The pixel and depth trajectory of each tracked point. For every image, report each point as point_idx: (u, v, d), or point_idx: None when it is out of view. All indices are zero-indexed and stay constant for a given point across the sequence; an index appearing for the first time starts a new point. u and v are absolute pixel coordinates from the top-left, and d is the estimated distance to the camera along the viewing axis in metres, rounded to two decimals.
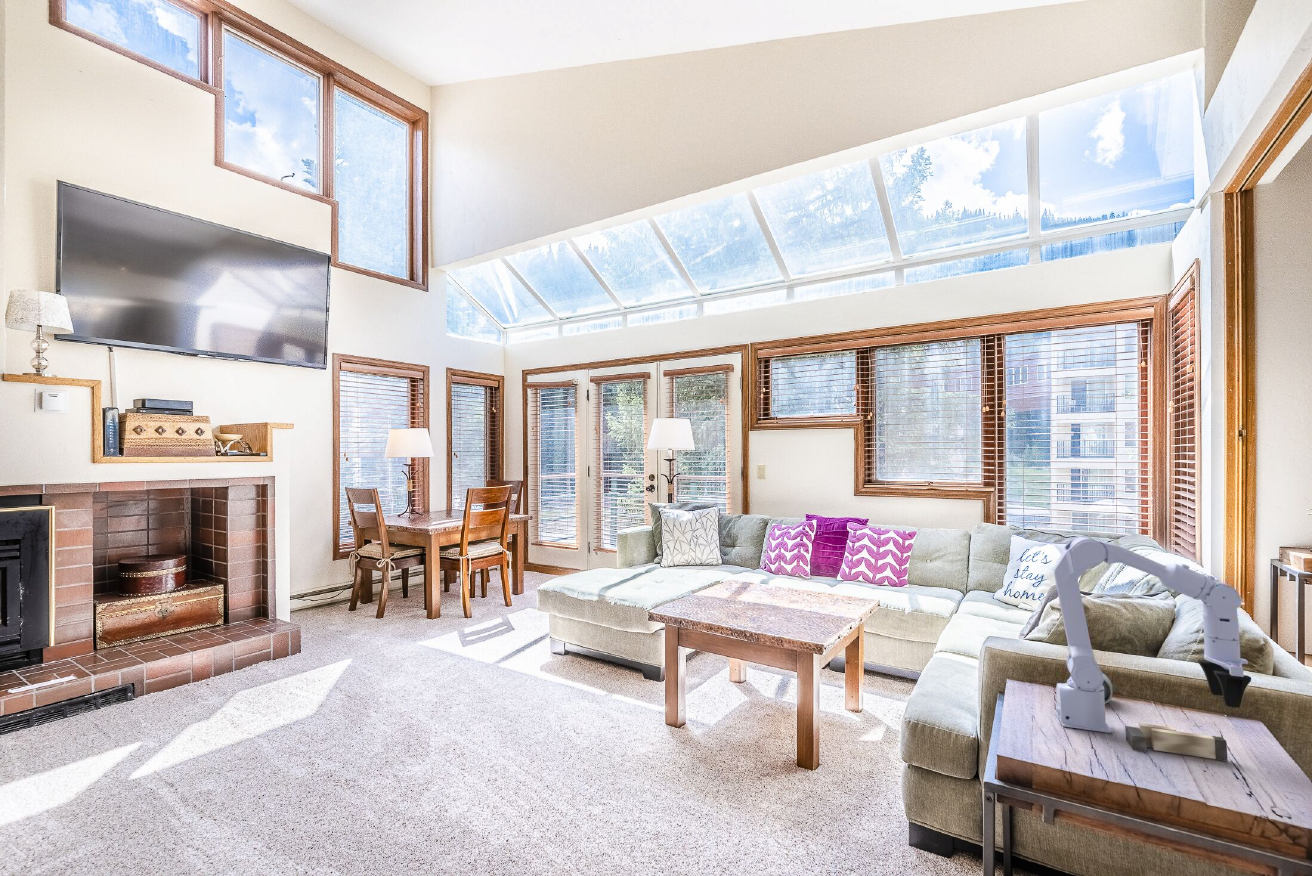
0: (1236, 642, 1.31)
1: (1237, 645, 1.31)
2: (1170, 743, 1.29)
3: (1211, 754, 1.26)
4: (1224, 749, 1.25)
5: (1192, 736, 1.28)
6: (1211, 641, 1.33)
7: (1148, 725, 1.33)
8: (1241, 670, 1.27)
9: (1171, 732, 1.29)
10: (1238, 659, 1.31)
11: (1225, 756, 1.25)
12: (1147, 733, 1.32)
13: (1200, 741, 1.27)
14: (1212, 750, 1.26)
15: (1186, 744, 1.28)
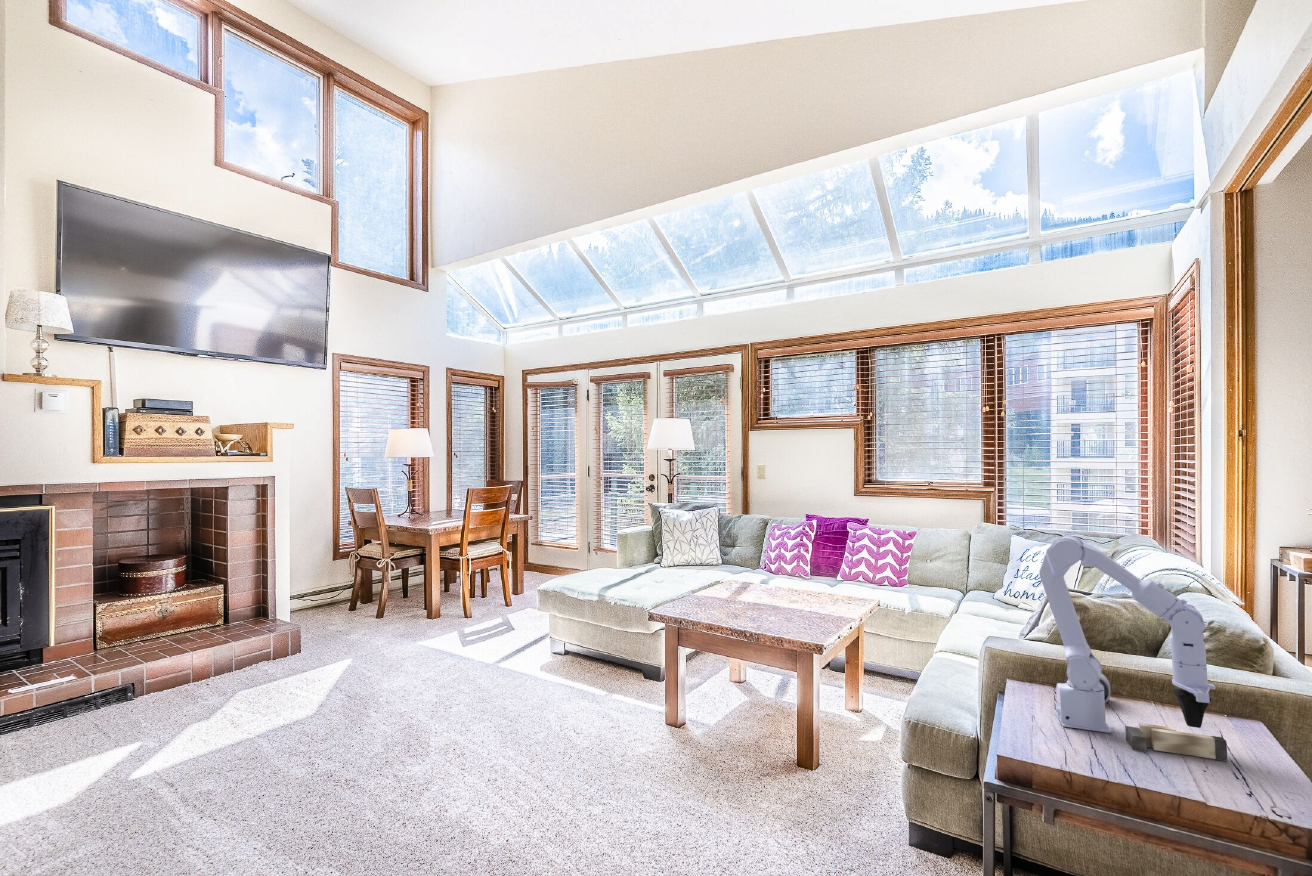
0: (1203, 667, 1.31)
1: (1204, 670, 1.31)
2: (1170, 743, 1.29)
3: (1211, 754, 1.26)
4: (1224, 749, 1.25)
5: (1192, 736, 1.28)
6: (1178, 666, 1.33)
7: (1148, 725, 1.33)
8: (1207, 697, 1.26)
9: (1171, 732, 1.29)
10: (1205, 684, 1.30)
11: (1225, 756, 1.25)
12: (1147, 733, 1.32)
13: (1200, 741, 1.27)
14: (1212, 750, 1.26)
15: (1186, 744, 1.28)
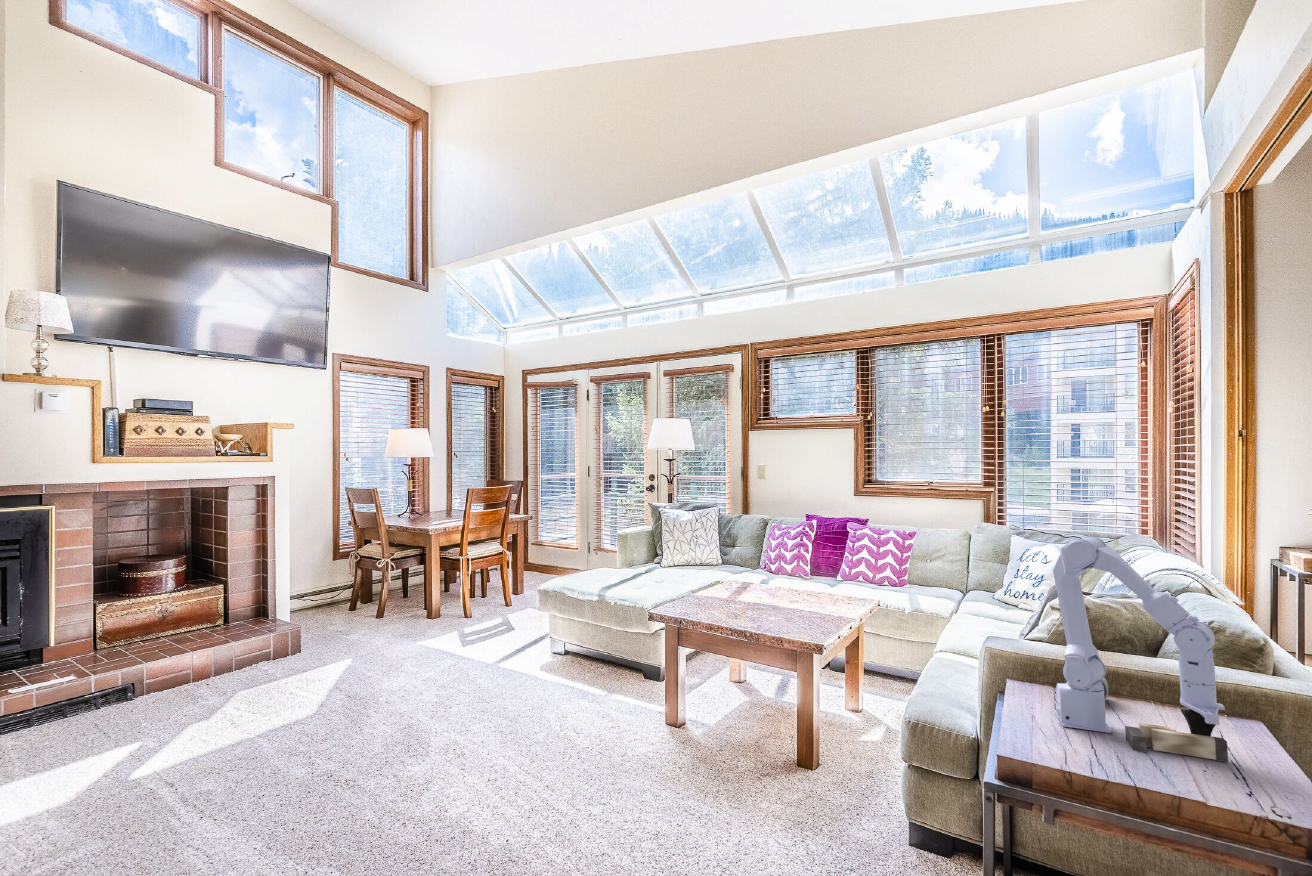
0: (1212, 687, 1.26)
1: (1213, 690, 1.26)
2: (1170, 743, 1.29)
3: (1211, 755, 1.26)
4: (1225, 750, 1.25)
5: (1192, 736, 1.27)
6: (1187, 685, 1.29)
7: (1148, 725, 1.33)
8: (1216, 718, 1.22)
9: (1171, 732, 1.29)
10: (1214, 705, 1.26)
11: (1226, 757, 1.25)
12: (1147, 733, 1.32)
13: (1200, 742, 1.27)
14: (1212, 751, 1.26)
15: (1186, 745, 1.28)
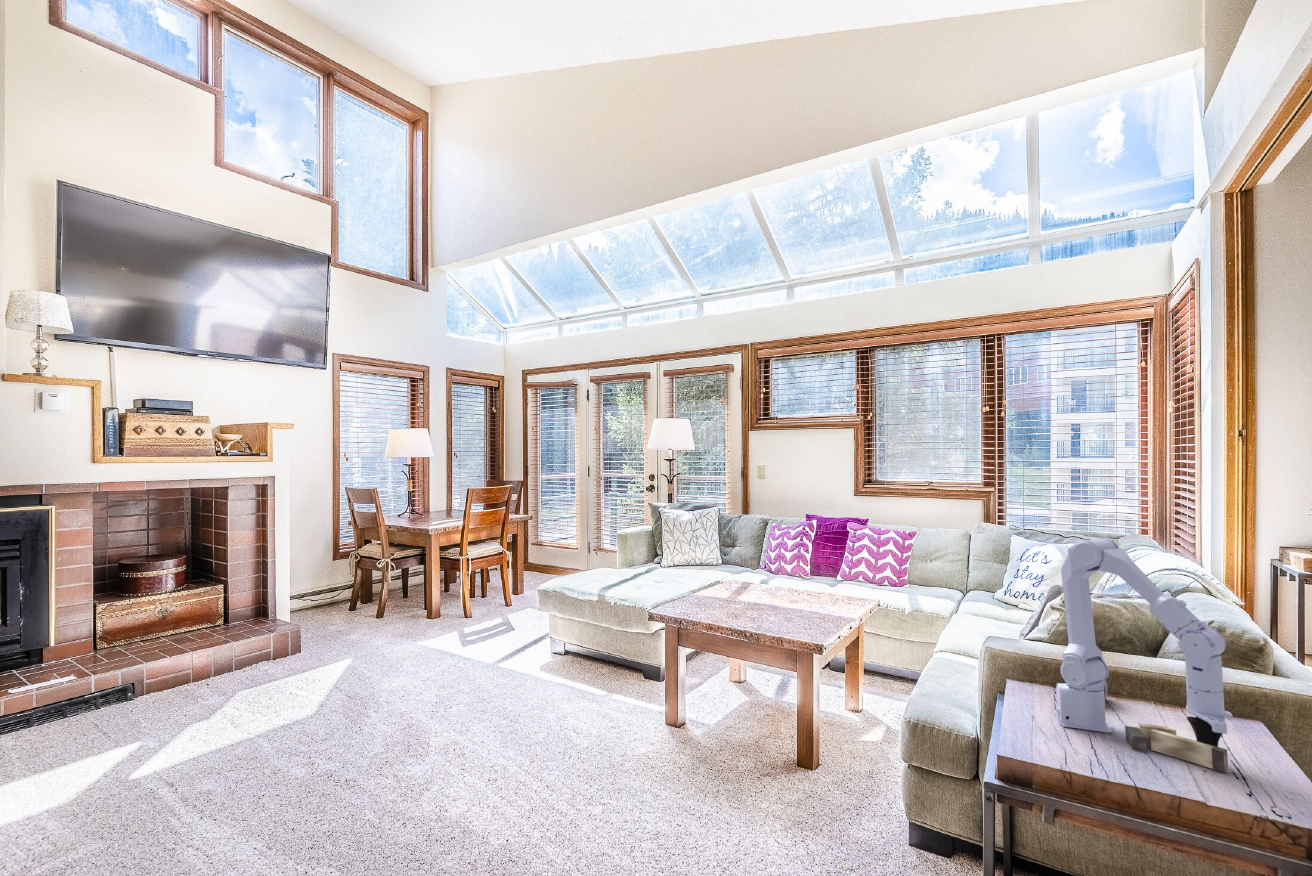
0: (1220, 694, 1.23)
1: (1221, 698, 1.23)
2: (1166, 745, 1.28)
3: (1208, 763, 1.22)
4: (1221, 760, 1.20)
5: (1189, 742, 1.25)
6: (1193, 692, 1.25)
7: (1148, 725, 1.33)
8: (1224, 727, 1.18)
9: (1170, 735, 1.28)
10: (1222, 713, 1.22)
11: (1222, 767, 1.20)
12: (1147, 733, 1.32)
13: (1197, 748, 1.24)
14: (1209, 759, 1.22)
15: (1183, 749, 1.26)
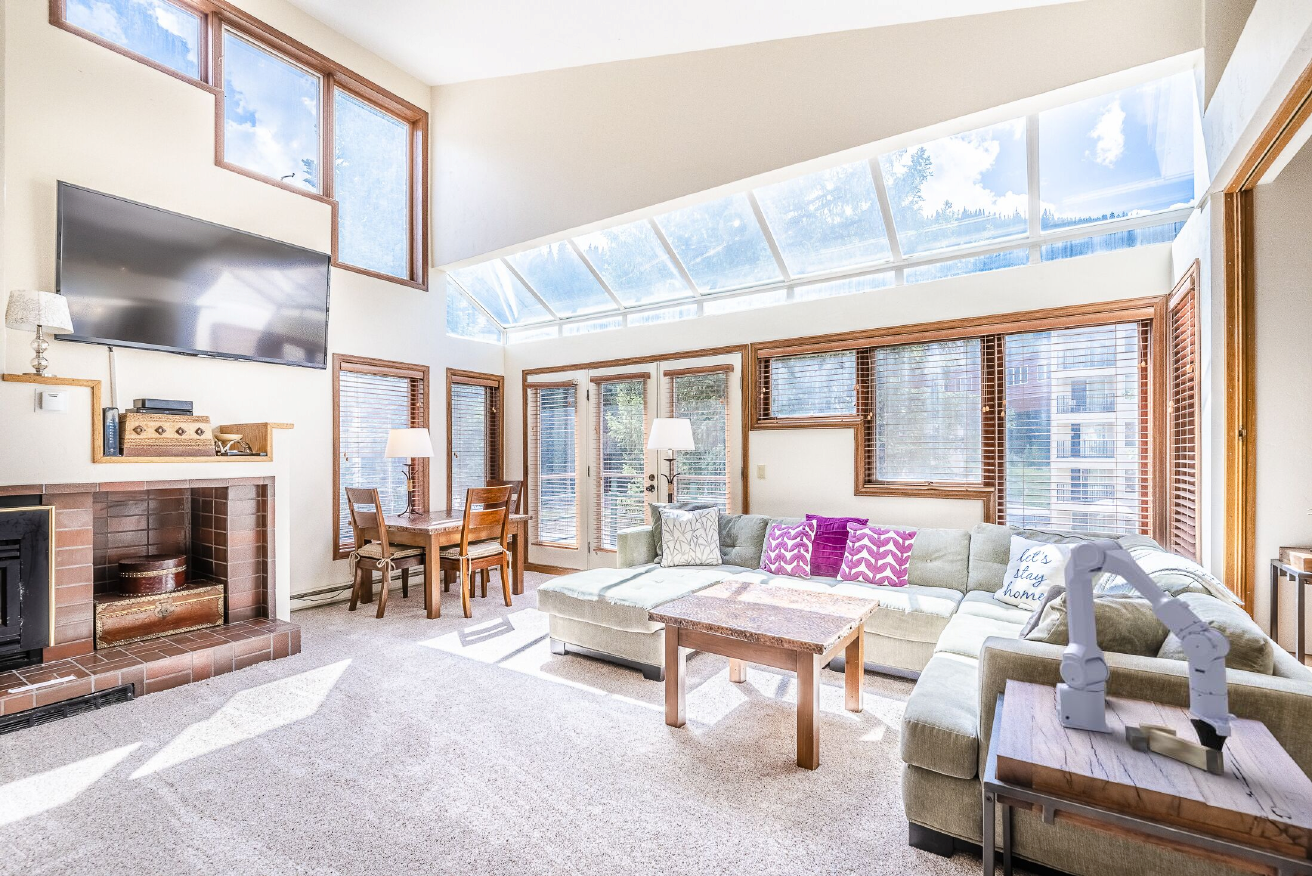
0: (1224, 697, 1.21)
1: (1225, 700, 1.21)
2: (1164, 745, 1.28)
3: (1203, 765, 1.22)
4: (1214, 762, 1.20)
5: (1185, 743, 1.24)
6: (1197, 695, 1.23)
7: (1148, 725, 1.33)
8: (1228, 730, 1.17)
9: (1168, 735, 1.28)
10: (1226, 715, 1.21)
11: (1215, 769, 1.19)
12: (1147, 733, 1.32)
13: (1192, 749, 1.23)
14: (1204, 761, 1.21)
15: (1179, 750, 1.25)
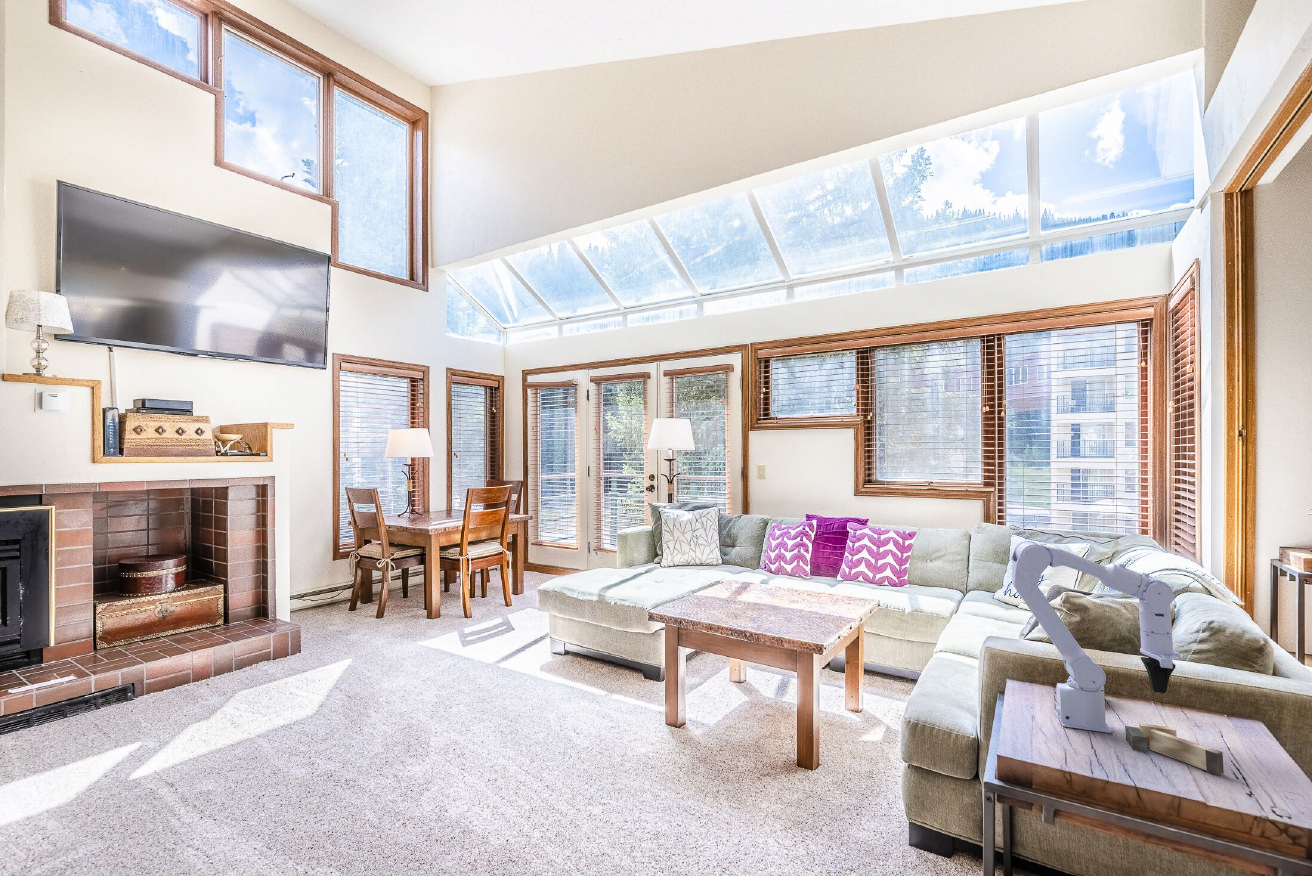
0: (1168, 636, 1.38)
1: (1169, 639, 1.38)
2: (1164, 745, 1.28)
3: (1202, 765, 1.21)
4: (1214, 762, 1.20)
5: (1185, 743, 1.24)
6: (1145, 635, 1.40)
7: (1148, 725, 1.33)
8: (1170, 662, 1.33)
9: (1168, 735, 1.28)
10: (1170, 652, 1.38)
11: (1215, 769, 1.19)
12: (1147, 733, 1.32)
13: (1192, 749, 1.23)
14: (1203, 761, 1.21)
15: (1179, 750, 1.25)
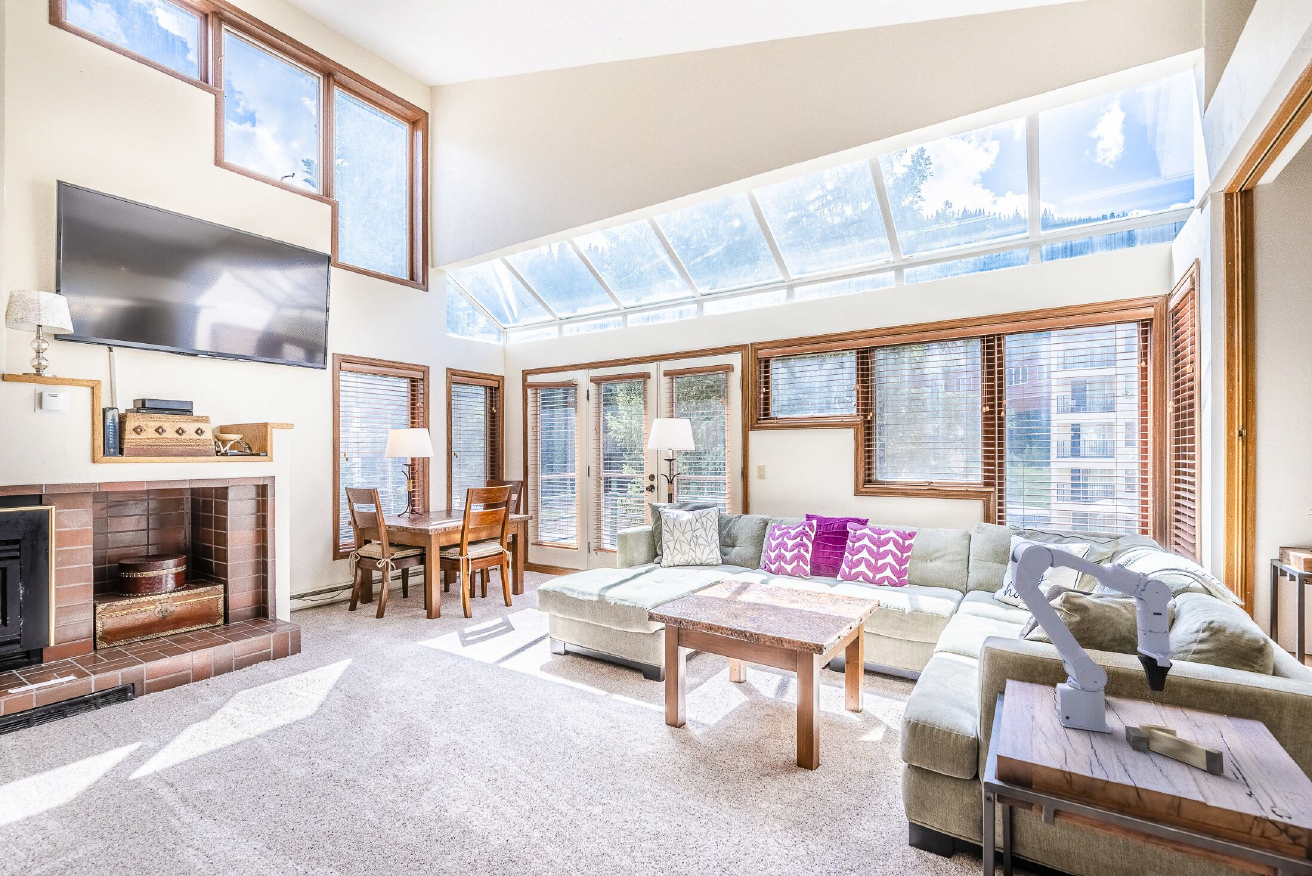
0: (1165, 634, 1.39)
1: (1166, 637, 1.39)
2: (1164, 745, 1.28)
3: (1202, 765, 1.21)
4: (1214, 762, 1.20)
5: (1185, 743, 1.24)
6: (1143, 634, 1.41)
7: (1148, 725, 1.33)
8: (1168, 661, 1.34)
9: (1168, 735, 1.28)
10: (1167, 650, 1.39)
11: (1215, 769, 1.19)
12: (1147, 733, 1.32)
13: (1192, 749, 1.23)
14: (1203, 761, 1.21)
15: (1179, 750, 1.25)
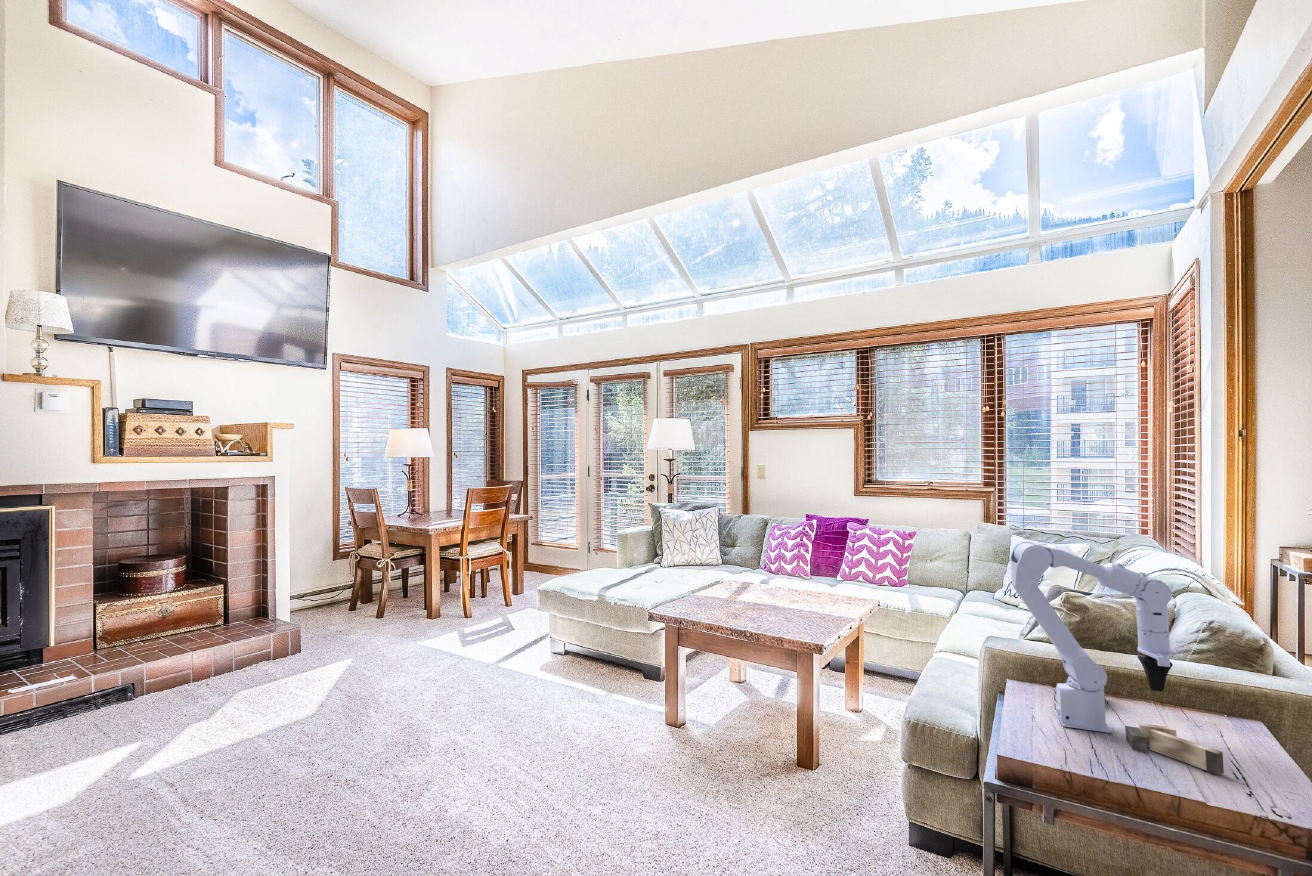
0: (1165, 634, 1.39)
1: (1166, 637, 1.39)
2: (1164, 745, 1.28)
3: (1202, 765, 1.21)
4: (1214, 762, 1.20)
5: (1185, 743, 1.24)
6: (1143, 634, 1.41)
7: (1148, 725, 1.33)
8: (1168, 661, 1.34)
9: (1168, 735, 1.28)
10: (1167, 650, 1.39)
11: (1215, 769, 1.19)
12: (1147, 733, 1.32)
13: (1192, 749, 1.23)
14: (1203, 761, 1.21)
15: (1179, 750, 1.25)
